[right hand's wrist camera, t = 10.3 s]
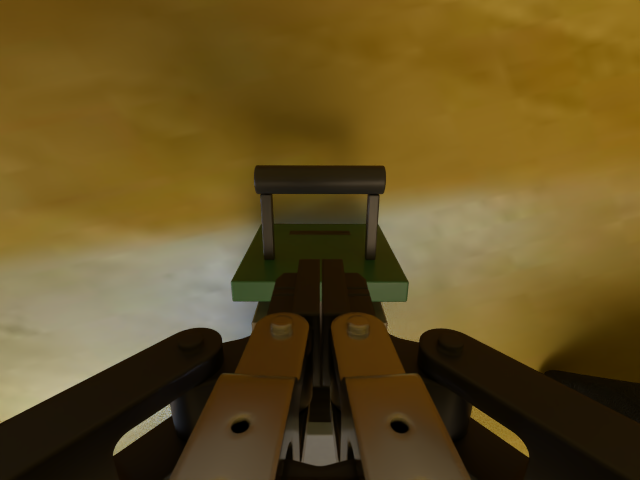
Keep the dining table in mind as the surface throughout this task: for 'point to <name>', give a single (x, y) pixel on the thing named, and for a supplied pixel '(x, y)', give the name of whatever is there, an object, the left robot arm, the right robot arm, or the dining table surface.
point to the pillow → (604, 391)
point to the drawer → (319, 245)
